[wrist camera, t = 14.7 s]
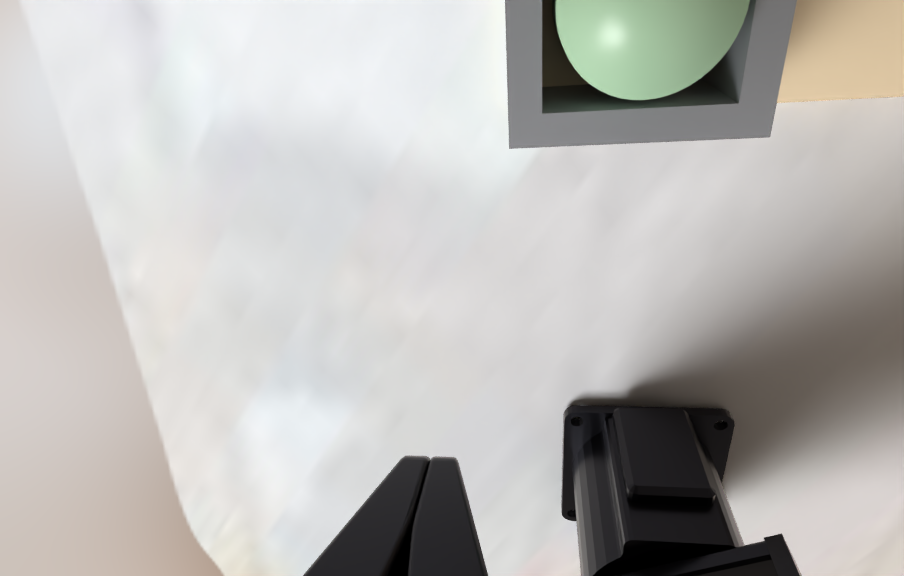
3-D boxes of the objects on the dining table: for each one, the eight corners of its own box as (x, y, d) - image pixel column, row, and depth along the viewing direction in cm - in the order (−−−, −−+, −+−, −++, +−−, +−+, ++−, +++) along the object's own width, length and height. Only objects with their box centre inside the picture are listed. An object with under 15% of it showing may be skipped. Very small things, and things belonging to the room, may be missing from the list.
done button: (694, 70, 15) (734, 95, 12) (551, 79, 16) (556, 105, 13) (715, -100, 13) (769, -121, 10) (552, -84, 14) (558, -99, 11)
